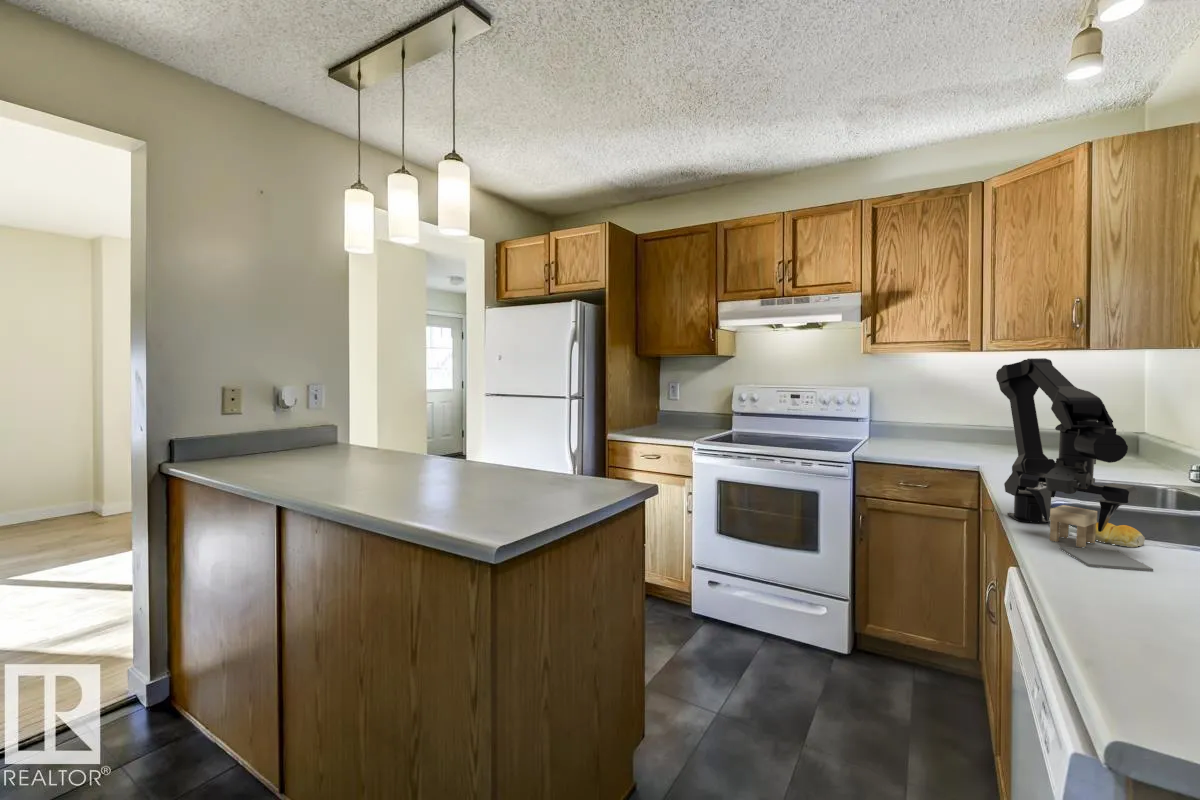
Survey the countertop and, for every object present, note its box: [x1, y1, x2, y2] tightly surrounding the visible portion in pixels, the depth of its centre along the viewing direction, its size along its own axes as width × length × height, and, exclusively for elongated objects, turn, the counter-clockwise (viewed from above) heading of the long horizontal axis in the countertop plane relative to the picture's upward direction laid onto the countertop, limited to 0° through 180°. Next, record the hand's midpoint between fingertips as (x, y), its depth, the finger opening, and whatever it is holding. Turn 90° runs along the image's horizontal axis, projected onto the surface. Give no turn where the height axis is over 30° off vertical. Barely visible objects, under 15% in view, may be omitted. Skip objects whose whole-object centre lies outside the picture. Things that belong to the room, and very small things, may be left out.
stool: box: [1049, 504, 1098, 548], centre depth 118 cm, size 6×6×7 cm
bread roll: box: [1095, 522, 1146, 548], centre depth 118 cm, size 8×9×4 cm
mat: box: [1059, 546, 1154, 572], centre depth 107 cm, size 10×10×1 cm
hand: (1072, 525), depth 118 cm, fingers open, 9 cm apart
